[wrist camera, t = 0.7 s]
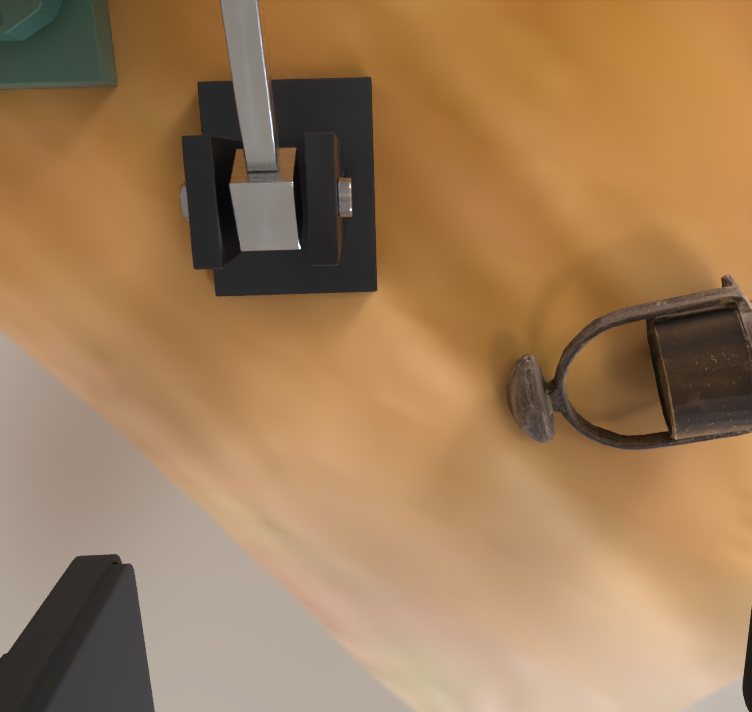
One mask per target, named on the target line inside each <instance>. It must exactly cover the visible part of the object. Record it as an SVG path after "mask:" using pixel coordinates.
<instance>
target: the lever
mask: <svg viewBox="0 0 752 712" xmlns="http://www.w3.org/2000/svg"><path fill="white" fill-rule="evenodd" d="M220 5H221V11H222V18H223V24H224V30H225V37H226V43H227V50H228V56H229V62H230V69H231V75H232V82H233V88H234V94H235V101H236V107H237V114H238V120H239V126H240V133H241V139H242V146H243V149H236V151H235V156H234V161H233V166H232V170H231V175H230V180H229V191H230V196H231V202H232V208H233V213H234V219H235V224H236V230H237V236H238V241H239V247H240V250H241V251H268V250H299V249H300V248H301V238H302V223H303V205H302V195H301V185H300V174H299V164H298V154H297V149H296V148H279V143H278V135H277V126H276V118H275V109H274V101H273V92H272V84H271V75H270V67H269V58H268V50H267V41H266V33H265V24H264V16H263V7H262V0H220Z"/></svg>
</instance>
